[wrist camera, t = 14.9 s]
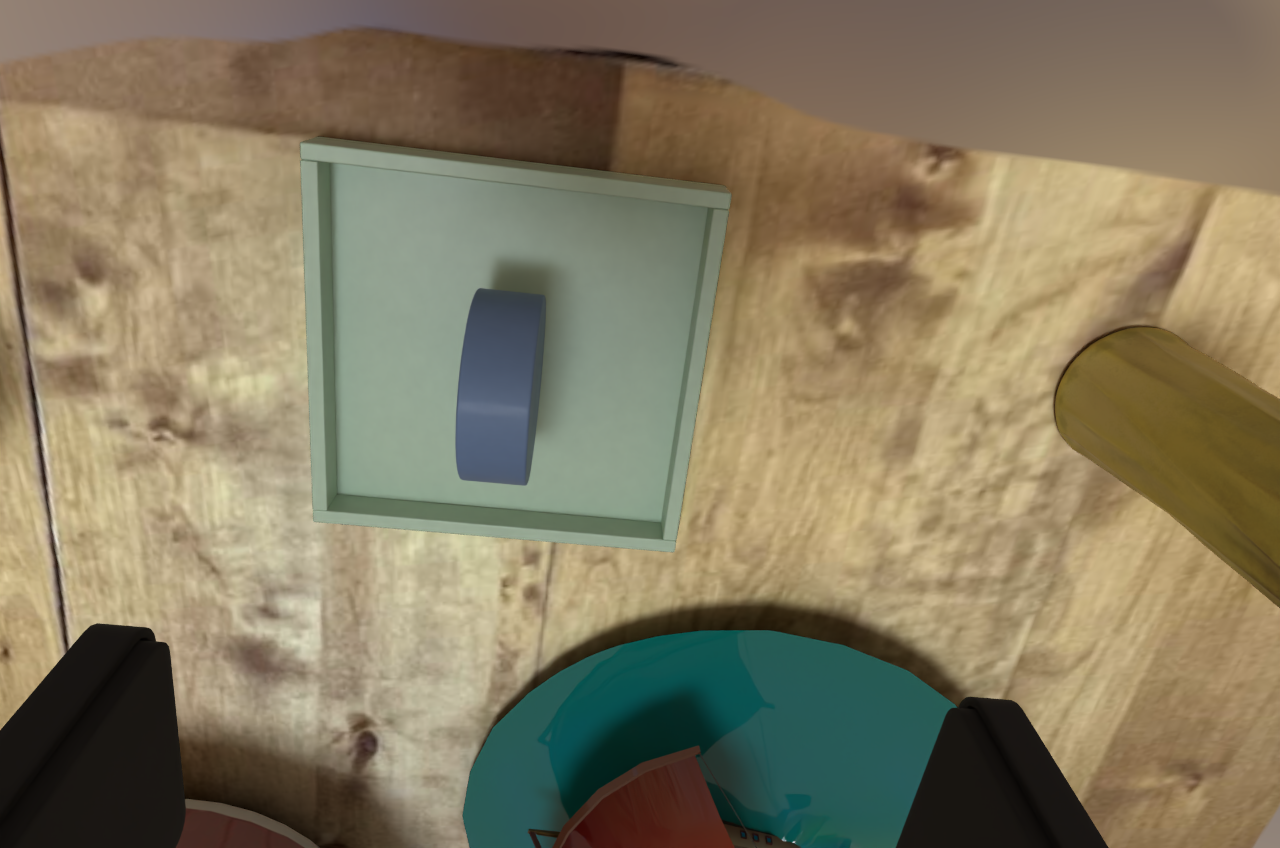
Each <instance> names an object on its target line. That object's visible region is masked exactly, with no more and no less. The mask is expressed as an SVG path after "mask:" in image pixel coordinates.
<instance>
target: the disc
mask: <svg viewBox="0 0 1280 848" xmlns="http://www.w3.org/2000/svg"><path fill="white" fill-rule="evenodd" d="M545 323H546V298H545V296H544V295H540V294H531V293H522V292H513V291H503V290H494V289H485V288H479V289H477V291H476V292H475V294H474V297H473V299H472V303H471V306H470V310H469V314H468V319H467V323H466V329H465V334H464V341H463V347H462V355H461V363H460V371H459V381H458V393H457V407H456V430H455V450H456V465H457V471H458V475H459V477H460V479H462V480H466V481H477V482H488V483H499V484H511V485H522V486H526V485H527V484H528V481H529V477H530V472H531V465H532V459H533V451H534V444H535V435H536V427H537V418H538V408H539V399H540V388H541V377H542V366H543V353H544V340H545Z"/></svg>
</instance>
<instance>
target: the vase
mask: <svg viewBox="0 0 1280 848" xmlns="http://www.w3.org/2000/svg"><path fill="white" fill-rule="evenodd" d="M1055 416H1056V423H1057V426H1058V430H1059V432H1060V433H1061V435H1062V437H1063V438H1064V439H1065V441H1066V442H1067V443H1068V444H1069V445H1070V446H1071V448H1072V449H1074V450H1075V451H1077V452H1078V453H1080V454H1082V455H1083V456H1085V457H1087V458H1088V459H1090V460H1091V461H1093V462H1094V463H1095V464H1097V465H1098V466H1100V467H1101V468H1103V469H1104V470H1106V471H1107V472H1109V473H1110V474H1112V475H1113V476H1114V477H1116V478H1117V479H1119V480H1120V481H1122V482H1123V483H1124V484H1126V485H1127V486H1129V487H1130V488H1132V489H1133V490H1135V491H1136V492H1138V493H1139V494H1141V495H1142V496H1143V497H1145V498H1146V499H1148V500H1149V501H1151V502H1152V503H1154V504H1155V505H1157V506H1158V507H1160V508H1161V509H1163V510H1164V511H1166V512H1167V513H1168V514H1170V515H1171V516H1172V517H1173V518H1174V519H1175V520H1176V521H1178V522H1179V523H1180V524H1181V525H1182V526H1184V527H1185V528H1186V529H1187V530H1188V531H1189V532H1190V533H1191V534H1192V535H1194V536H1195V537H1196V538H1197V539H1198V540H1199V541H1200V542H1201V543H1202V544H1204V545H1205V546H1206V547H1207V548H1208V549H1210V550H1211V551H1212V552H1213V553H1214V554H1216V555H1217V556H1218V557H1219V558H1220V559H1221V560H1223V561H1224V562H1225V563H1226V564H1227V565H1229V566H1230V567H1231V568H1232V569H1234V570H1235V571H1236V572H1237V573H1238V574H1240V575H1241V576H1242V577H1243V578H1245V579H1246V580H1247V581H1248V582H1249V583H1250V584H1252V585H1253V586H1254V587H1255V588H1256V589H1258V590H1259V591H1260V592H1261V593H1262V594H1263V595H1265V596H1266V597H1267V598H1268V599H1269V600H1271V601H1272V602H1273V603H1274V604H1275V605H1277V606H1278V607H1279V608H1280V399H1279V398H1277V397H1275V396H1274V395H1272V394H1270V393H1268V392H1267V391H1265V390H1263V389H1262V388H1260V387H1258V386H1257V385H1255V384H1254V383H1252V382H1251V381H1249V380H1248V379H1246V378H1244V377H1242V376H1241V375H1239V374H1237V373H1236V372H1234V371H1233V370H1231V369H1229V368H1227V367H1226V366H1224V365H1222V364H1220V363H1219V362H1217V361H1215V360H1214V359H1212V358H1210V357H1209V356H1207V355H1205V354H1203V353H1202V352H1200V351H1198V350H1196V349H1193V348H1191V347H1190V346H1189V345H1188V344H1187V343H1186V342H1184V341H1183V340H1182V339H1181V338H1179V337H1178V336H1176V335H1175V334H1173V333H1171V332H1169V331H1166V330H1163V329H1159V328H1152V327H1134V328H1129V329H1125V330H1121V331H1118V332H1115V333H1113V334H1110V335H1108V336H1106V337H1104V338H1102V339H1100V340H1098V341H1096V342H1095V343H1093V344H1092V345H1090V346H1089V347H1088V348H1087V349H1086V350H1084V351H1083V352H1082V353H1081V354H1080V355H1079V356H1078V357H1077V358H1076V359H1075V360H1074V361H1073V363H1072V364H1071V365H1070V366H1069V368H1068V369H1067V371H1066V373H1065V374H1064V376H1063V378H1062V380H1061V382H1060V385H1059V388H1058V390H1057V394H1056V400H1055Z"/></svg>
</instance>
